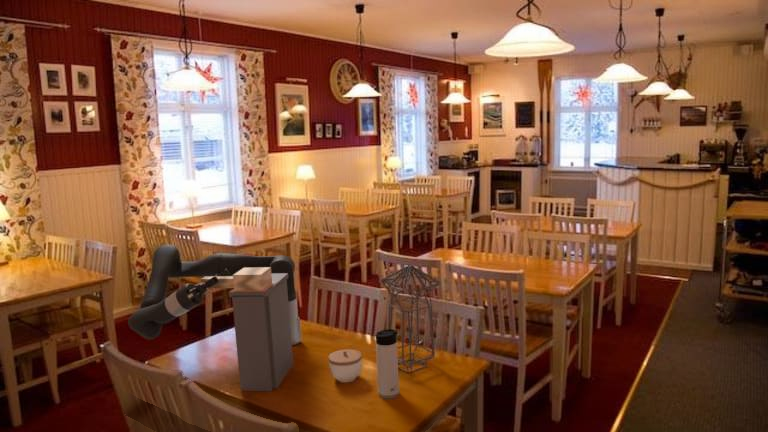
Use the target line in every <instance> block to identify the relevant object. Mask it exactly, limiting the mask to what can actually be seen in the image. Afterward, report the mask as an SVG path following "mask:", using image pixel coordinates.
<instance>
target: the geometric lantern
mask: <svg viewBox="0 0 768 432" xmlns="http://www.w3.org/2000/svg"><path fill="white" fill-rule="evenodd" d="M398 273H399V274H398ZM397 274H398V275H397ZM395 275H397V276H396V277H395V278H392V276H395ZM411 277H412V280H413V281H412V282H413V284H414V288H410V287H409V286H410V280H411ZM415 277H416V278H415ZM415 279H417V280H418V282H419V283H420V285H421V286H422V287H421V288H418V286H417V283H416V282H417V281H416V280H415ZM423 280H424V281H423ZM390 281H391V282H390ZM400 281H401V285H398V283H399V282H400ZM380 282H381V284H383V286H384V288H385V289H386V290H387V293H388V296H391V297H390V302H389V303H388V323H387V329H392V323H393V308H394V309H396V310H399V311H400V312H402V323H401V324H402V329H401V330H402V331H401V332H402V333H401V346H397V350H398V349H400V348H401V356H399V357H398V365H402V366H404V367H405V368H406V370H405V369H403V368H401V367H399V366H398V370H401V371H403V372H405V373H406V374H409V373H413V372H417V371H419V370H421V369H424V368H426V367H427V362H428V361H430V360H431V359H434V358H435V337H434V319H433V317H434V315H433V304H432V297H431V292H432V291H433V290H434V289H436V288H437V287H438V286H439V285H440V284H441V281H440V280H437V279H436V278H434V277H432V275H429V274H428V273H426V272H424V271H423V270H421V269H419V268H418V267H416V266H414V265H413V264H407V265H406V266H404V267H402V268H400V269H398V270H395V271H394V272H392V273H390V274H389V275H386V276H385V277H383V278H381V279H379V281H378V283H380ZM427 282H428V283H429V286H427V285H426V284H427ZM407 283H408V284H407ZM432 283H434V284H432ZM406 284H407V286H406ZM390 287H391V290H390ZM405 289H406V290H405ZM396 290H397V291H398V292H397V293H395V291H396ZM426 290H427V292H426ZM412 291H415V292H416V293H415V292H412ZM422 291H423V294H422V295H420V294H421V293H422ZM403 292H405V293H409V294H410V296H411V297H406V298H402V299H398V298H397V296H398V295H399V294H401V293H403ZM428 294H429V301H428V298H427V295H428ZM421 298H424V299H425V300H423V299H421ZM393 299H395V300H393ZM409 299H411V300H410V302H411V304H410V306H409V308H408V309H407V310H405V309H403V307H402V305H401V303H400V302H401V301H406V300H409ZM418 301H420V302H422V303H425V304H426V305H427V306H425V307H420V308H419V302H418ZM429 302H430V303H429ZM394 303H397V304H398V307H399V308H398V307H396V306H395V305H394ZM415 303H416V306H415V307H416V309H413V308H414V304H415ZM425 309H428V317H429V329H430V332H429V333H430V342H431V343H430V344H431V350H430V349H429V348H427V347H425V346H423V345H421V344H420V331H419V329H420V328H419V326H420V325H419V323H420V321H419V311H420V310H425ZM414 312H416V329H417V330H416V333H417V334H416V335H417V343H413V342H412V341H413V340H412V338H413V313H414ZM405 313H407V326H408V343H405ZM412 346H415V348H414V349H413V353H412ZM405 347H408V348H409V353H406V354H404V353H405V352H404V350H405V349H404V348H405ZM418 347H420V348H422V349H424V350H425V351H427V352H429V353H431V354H430V355H429V356H428V357H425V358H424V357H422V356H419V355H418V354H415V352H416V351H417V349H418ZM407 356H409V359H405V360H404V357H407ZM414 357H417V358H419V359H418V360H417V359H415V358H414ZM406 364H407V365H406ZM408 364H409V366H408ZM412 364H413V365H412ZM421 364H422V365H424V366H421V367H419V368H415V369H413V367H416V366H419V365H421ZM409 368H410V370H409Z"/></svg>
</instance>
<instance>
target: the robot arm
mask: <svg viewBox="0 0 768 432" xmlns="http://www.w3.org/2000/svg"><path fill="white" fill-rule="evenodd" d="M252 267H271V274H272V273H288V278H287V291H288V304H289V317H290V330H291V343H292V346H296V345H297V344H299V343H302V342H303V339H302V328H301V317H299V316H298V315H299V313H298V303H297V291H296V288H295V287H296V286H295V271H296V264H295V262H294V259H292V258H291V257H290V256H287V255H268V256H267V255H266V256H265V255H264V256H263V255H258V256H256V255H248V254H239V253H237V254H236V253H229V252H228V253H226V252H225V253H222V252H218V253H213V254H210V255H208V256H206V257H204V258H202V259H200V260H196V261H195V260H194V261H184V260H183V261H182V259H181V253H180V251H179V249H178V248H177V246H176V245H174V244H162V245H160V246H158V247H156V249H155V250H154V252H153V257H152V266H151V269H150V275H149V279H148V283H147V285H146V289H145V290H144V291H145V292H144V295H143V297H142V299H141V302H140V307H139V308H140V309H137V310H135V311H134V312H133V313H131V315H130V316H129V318H128V322H127V324H128V328H130V329H131V330H132V331H134V332H135V333H136V334H138V335H140V336H141V337H142V338H144V339H145V340H149V341H150V340H154V339H155V338H156V337H158V336H159V335H160V333H161V331H162V330H163V325H164V324H167V323H170V322H172V321H174V320H175V319H176V318H178V317H179V316H182V315H184V314H185V313H187V312H190V311H191V310H192V309H194V308H195V307H197V306H199V305H200V304H201V303H202V302H203V296H204V295H205V294H207V293H209V292H210V290H212V289H213V288H210V287H212V286H213V285H215V284H216V283H218V282H219V280H218V278H217V277H216V276H233V275H234V274H235V273H237V272H238V271H240V270H241V269H243V268H252ZM205 276H214V277H213V278H211V279H209V280H208V281H206V282H203V283H202V282H201V281H200V282H198V283H197V284H194V283H192V282H191V283H186V284H185V285H183V286H181V287H180V288H178V289H177V290H176V291H174V292H172V293H170V295H169V296H167V292H168V286H169V284H168V283H169V278H193V277H197V278H203V277H205Z"/></svg>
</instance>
